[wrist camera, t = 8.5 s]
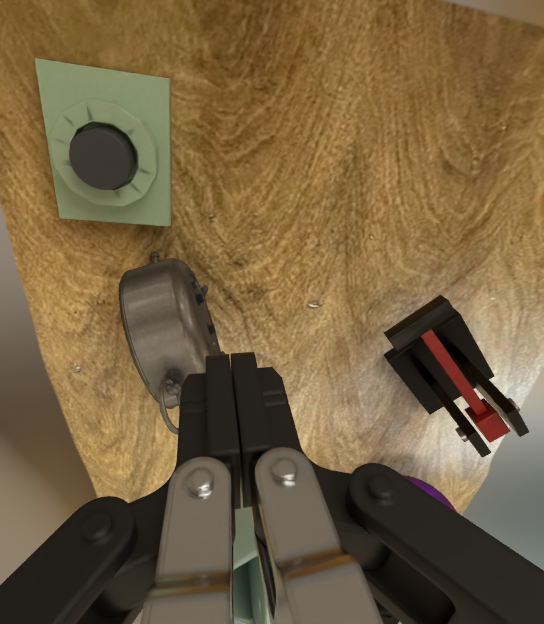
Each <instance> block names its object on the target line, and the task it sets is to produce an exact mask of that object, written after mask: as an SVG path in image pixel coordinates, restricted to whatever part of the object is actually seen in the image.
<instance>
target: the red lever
mask: <svg viewBox="0 0 544 624" xmlns="http://www.w3.org/2000/svg"><path fill="white" fill-rule="evenodd" d="M455 313H456V311H455V310H454V308H453V307H452V305H451V304H450V302H449V301H448V300H447V299H446V298H444V297H443V296H442V295H439V296H438V297H436V298H435V299H433V300H432V301H430V302H429V303H428V304H426V305H425V306H423V307H422V308H420V309H419V310H417V311H416V312H414V313H413V314H411V315H410V316H408V317H407V318H405V319H404V320H402V321H401V322H399V323H398V324H396V325H395V326H393V327H392V328H390V329H389V330H387V331H386V332H384V334H385V336H386V337H387V338H388V340H389V341H390V343H391V344H392V345H393V347H394V348H395V349H396V351H398V350H400V349H402V348H403V347H405V346H406V345H408V344H409V343H411V342H412V341H414V340H415V339H417V338H418V337H421V339H422V340H423V341H424V343H425V344H426V346H427V347H428V348H429V350H430V351H431V353H432V354H433V355H434V357H435V358H436V360H437V361H438V363H439V364H440V365H441V367H442V368H443V370H444V371H445V372H446V374H447V375H448V377H449V378H450V379H451V381H452V382H453V384H454V385H455V387H456V388H457V389H458V391H459V392H460V394H461V395H462V396H463V398H464V399H465V401H466V402H467V403H468V405H469V406H470V407H468V408H466V409H465V411H466V413H467V414H468V415H469V417H470V418H471V420H472V421H473V422H474V424H475V425H476V427H477V428H478V429H479V430H480V432H481V433H482V434H483V435H484V437H485V438H486V439H487V440H488V441H489V442H492V441H494V440H496V439H498V438H499V437H501V436H503V435H505V434H507V433H508V432H510V430H509V428H508V427H507V425H506V424H505V423H504V421H503V420H502V418H501V417H500V415H499V414H498V412H497V411H496V410H495V409H494V408H493V407H492V406H491V405H490V404H489V403H488V402H487V401H486V400H485V399H484V398H483V399H482V400H480V399H479V397H478V396H477V394H476V393H475V391H474V390H473V388H472V387H471V386H470V384H469V383H468V381H467V380H466V378H465V377H464V375H463V374H462V373H461V371H460V370H459V368H458V367H457V365H456V364H455V362H454V361H453V360H452V358H451V357H450V355H449V354H448V352H447V351H446V349H445V348H444V347H443V345H442V344H441V342H440V341H439V339H438V338H437V336H436V335H435V334H434V332H433V331H432V328H434V327H435V326H437V325H438V324H440V323H441V322H443V321H445V320H446V319H448V318H449V317H451V316H452V315H454V314H455Z"/></svg>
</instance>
